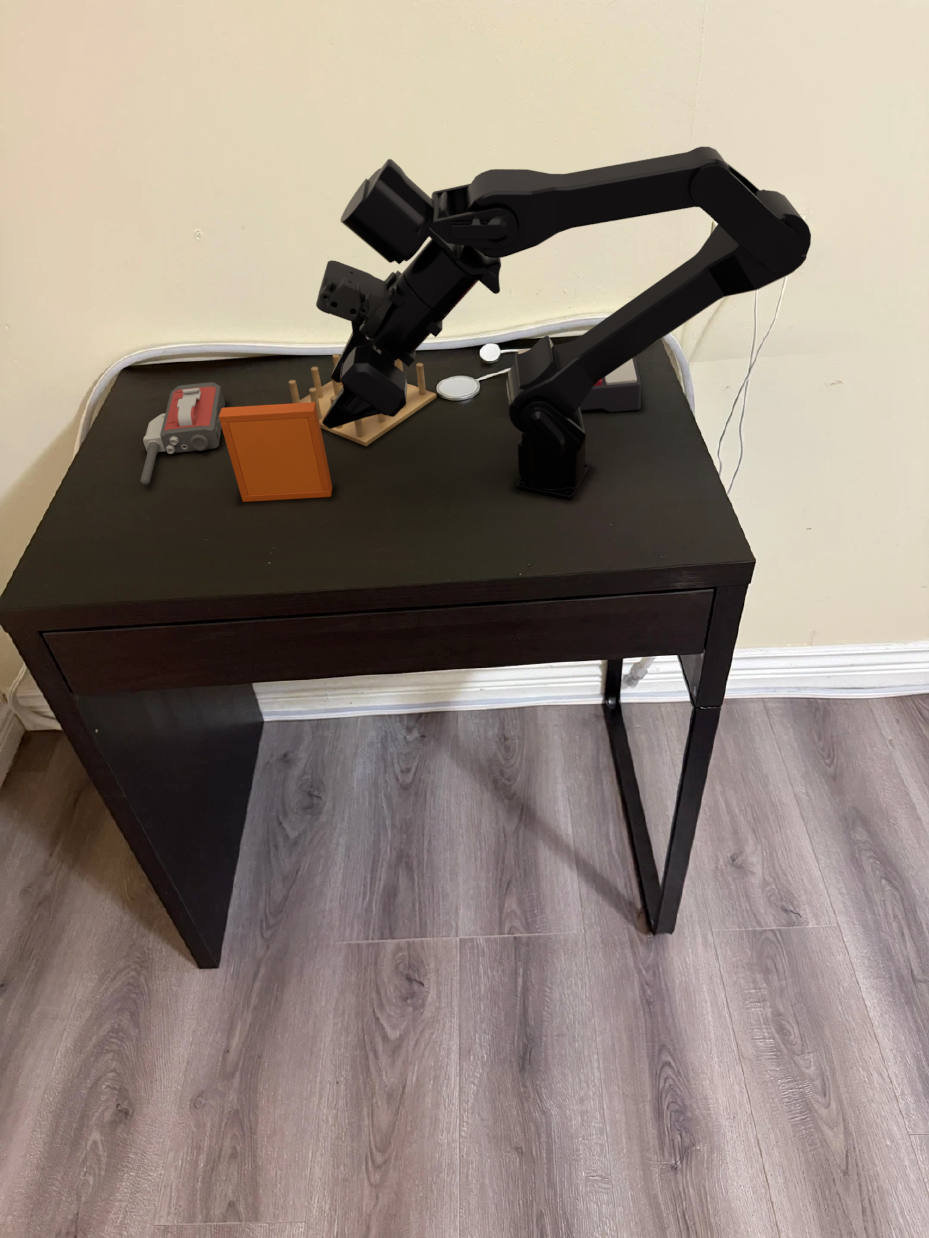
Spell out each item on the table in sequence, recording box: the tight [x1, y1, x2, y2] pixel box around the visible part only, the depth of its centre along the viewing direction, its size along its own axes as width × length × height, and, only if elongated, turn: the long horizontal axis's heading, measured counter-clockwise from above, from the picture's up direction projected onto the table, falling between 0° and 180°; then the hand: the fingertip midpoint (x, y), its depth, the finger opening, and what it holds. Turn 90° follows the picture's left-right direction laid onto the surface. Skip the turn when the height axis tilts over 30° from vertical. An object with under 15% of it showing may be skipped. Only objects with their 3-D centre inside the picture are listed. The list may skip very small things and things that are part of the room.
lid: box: [219, 402, 333, 503], centre depth 98 cm, size 10×2×11 cm, turn 91°
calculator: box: [514, 347, 642, 413], centre depth 113 cm, size 11×4×15 cm
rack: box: [288, 353, 437, 447], centre depth 113 cm, size 14×13×5 cm
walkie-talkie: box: [139, 381, 226, 486], centre depth 110 cm, size 9×4×20 cm
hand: (330, 402), depth 94 cm, fingers open, 9 cm apart
